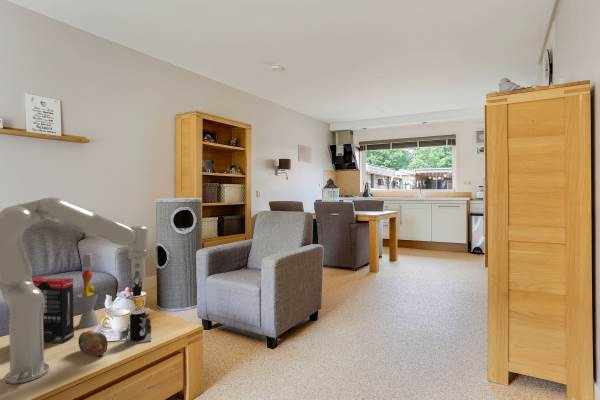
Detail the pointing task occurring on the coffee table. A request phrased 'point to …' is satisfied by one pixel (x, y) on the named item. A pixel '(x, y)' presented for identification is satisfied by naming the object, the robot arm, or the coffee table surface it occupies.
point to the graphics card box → (57, 308)
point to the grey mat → (146, 339)
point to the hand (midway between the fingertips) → (137, 292)
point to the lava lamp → (87, 296)
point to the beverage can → (137, 325)
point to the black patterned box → (148, 324)
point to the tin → (92, 343)
